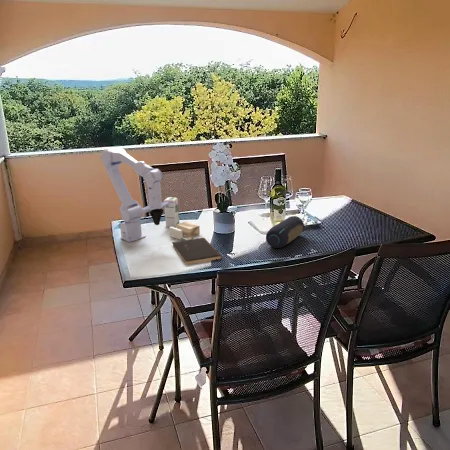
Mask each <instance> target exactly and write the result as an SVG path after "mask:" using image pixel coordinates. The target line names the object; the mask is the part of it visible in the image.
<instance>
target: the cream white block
mask: <svg viewBox="0 0 450 450" xmlns="http://www.w3.org/2000/svg"><path fill="white" fill-rule="evenodd" d="M168 229H169V237H172V238H174V239H177V240H178V241H180V240H182V239H183V240H185V239H186V238H184V237H183V236H184V235H183V233H182V230H180V229H178V228H177V227H168Z"/></svg>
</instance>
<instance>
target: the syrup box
mask: <svg viewBox="0 0 450 450" xmlns="http://www.w3.org/2000/svg"><path fill="white" fill-rule="evenodd" d="M163 202H169V207H164V219H165V226H166V228H167V227H168V228H169V227H175V228H177V224H180V214H179V199H178V197H175V196H174V197H173V196H172V197H171V196H169V197H166V198H165V199H164V200H163Z"/></svg>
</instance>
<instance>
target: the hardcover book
mask: <svg viewBox="0 0 450 450" xmlns="http://www.w3.org/2000/svg"><path fill="white" fill-rule="evenodd" d="M171 244H172V246H173V247H174V249H175V250H176V252H177V253H178V255H179V256H180V257H181V259H182V260H183V261H184V263H185V265H192V263H193V264H198V262H199V263H205V262H210V261H209V260H211V261H216V259H217V260H221V259H223V257H222V255H221V253H220V252H218V250H217V249H215V247H214V246H213V245H212V244H211V243H210V242H209V241H208V240H207V239H206V238H205V237H200V238H199V237H198V238H192V239H190V240H184V241H180V240H177V241H172V242H171ZM204 261H205V262H204Z"/></svg>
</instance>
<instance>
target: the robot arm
mask: <svg viewBox="0 0 450 450" xmlns="http://www.w3.org/2000/svg"><path fill="white" fill-rule="evenodd" d="M100 159H101V162H102V164H103V166H104V169H105V170H106V173H107V176H108V177H109V179H110V182H111V184H112V187H114V190H115V192H116V194H117V197H118V199H119V201H120V203H121V204H120V207H119V208H118V210H119V212H120V217H121V219H122V220H123V222H121V224H120V239H121V240H124V241H126V242H128V243H133V242H134V241H138V240H141V239H144V238H146V237H147V236H146V235H144V234H143V233H142V222H141V221H142V217H143V215H144V214H146V213H149V214H150V216H151V219H152V221H153V224H154V225H155V226H159V225H160V222H161V218H162V216H163V213H165V210H164V209H165V208H164V207H169V202H164V201H163V202H162V189H161V186H162V184H161V181H162V180H163V172H162V170H160V169H159V168H153V167H152V166H150V165H148V164H147V163H146V162H145V161H144V160H142V161H141V160H140V161H138V160H137V159H135V158H134V157H133V156H131V155H130V154H129V153H127V152H126V149H123V147H121V146H118V147H113V148H109V149H103V150H102V152H101V156H100ZM122 163H124V164H126V165H127V166H129V167H131V168H133V171H134V172H135V173H136V174H138V175H139V176H140V177H142V178H143V180H144V181H145V183H146V187H147V194H148V205H147V206H144V207H142V206H141V205H140V203H139V201H138V200H135V199H133V197H132V195H131V193H130V191H129V189H128V186H127V184H126V182H125V180H124V179H123V176H122V174H121V172H120V169H119V168H120V166H121V164H122ZM163 208H164V209H163Z"/></svg>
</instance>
